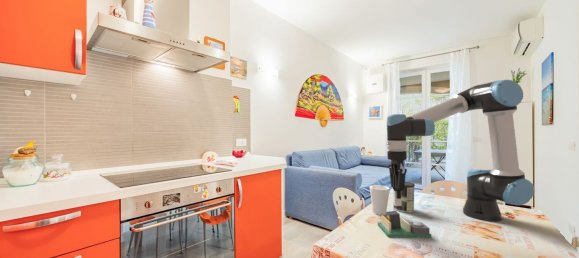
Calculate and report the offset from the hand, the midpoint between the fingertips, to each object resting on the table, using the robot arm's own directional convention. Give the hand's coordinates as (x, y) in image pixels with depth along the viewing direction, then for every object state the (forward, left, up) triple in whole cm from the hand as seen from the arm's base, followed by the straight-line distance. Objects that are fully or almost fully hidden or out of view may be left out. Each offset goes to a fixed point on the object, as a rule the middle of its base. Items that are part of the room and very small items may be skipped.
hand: (397, 205), depth 105 cm
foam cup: (+1, -20, -10) cm, 23 cm away
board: (-1, +2, -10) cm, 10 cm away
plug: (+2, +2, -9) cm, 9 cm away
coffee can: (-14, -26, -10) cm, 32 cm away
